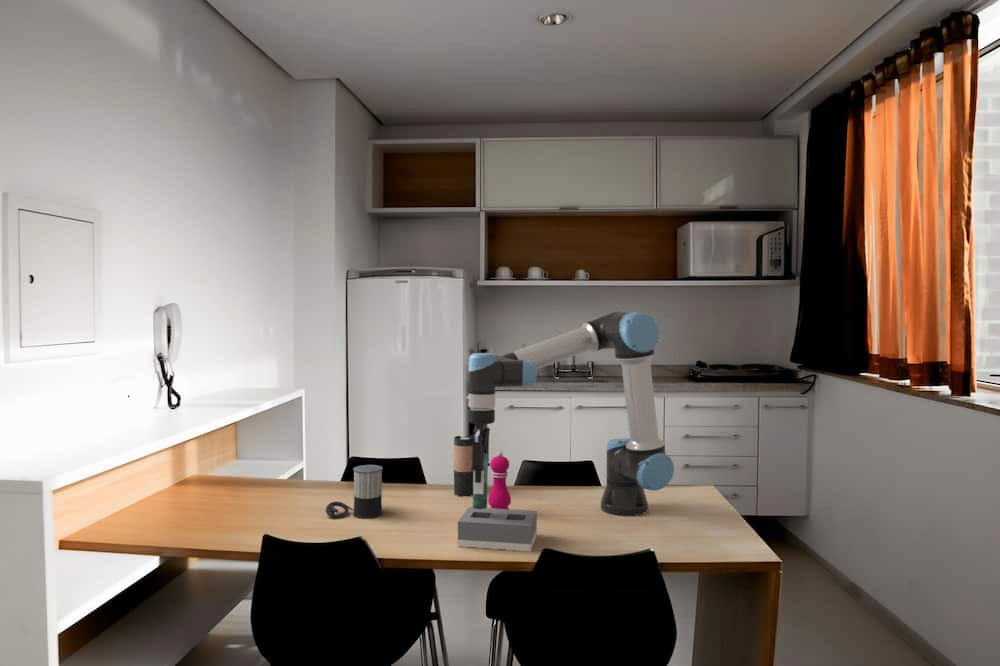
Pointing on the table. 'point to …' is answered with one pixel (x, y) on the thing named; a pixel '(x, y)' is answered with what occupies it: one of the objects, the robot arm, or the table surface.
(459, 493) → the travel mug
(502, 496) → the pepper mill
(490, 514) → the hole block
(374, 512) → the milk frother
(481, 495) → the pin
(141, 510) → the table surface
